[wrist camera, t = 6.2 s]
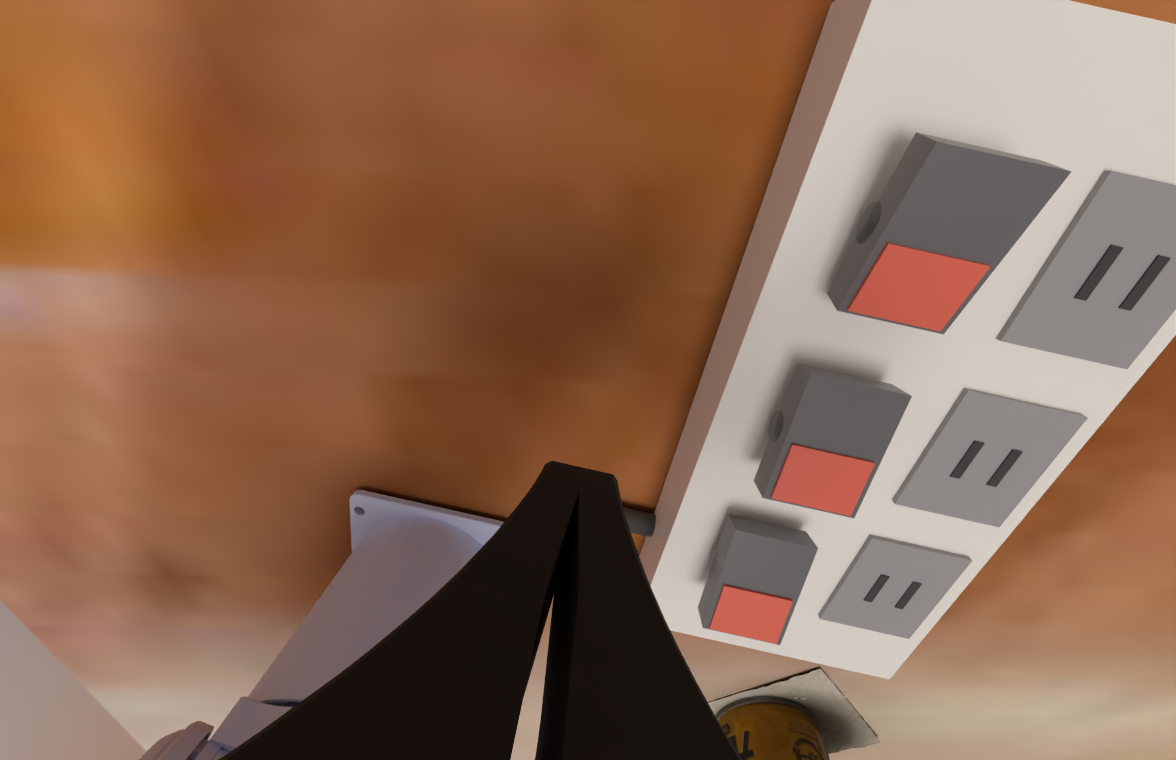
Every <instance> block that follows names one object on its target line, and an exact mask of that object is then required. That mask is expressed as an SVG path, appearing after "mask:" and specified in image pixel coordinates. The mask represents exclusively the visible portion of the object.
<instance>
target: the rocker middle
mask: <svg viewBox="0 0 1176 760" xmlns="http://www.w3.org/2000/svg"><path fill="white" fill-rule="evenodd" d="M911 397H912V396H911V395H910V394H908V393H906V392H904V391H903V390H901V389H899V388H898V387H896V386H894V385H892V384H889V383H884V382H880V381H875V380H871V379H867V378H862V377H858V376H853V375H849V374H844V373H840V372H835V371H831V370H826V369H822V368H817V367H813V366H808V365H804V364H799V363H798V364H797V367H796V369H795V372H794V375H793V377H792V380H791V382H790V385H789V388H788V390H787V393H786V396H785V398H784V401H783V404H782V406H781V409H780V410H777V411H775V412H774V414H773V415H772V417H771V420H770V423H769V429H768V435H769V441H768V444H767V446H766V449H765V452H764V454H763V457H762V460H761V462H760V465H759V468H758V470H757V473H756V476H755V478H754V482H755V484H756V486H757V488H758V490H759V492H760V494H761V496H762V498H765V499H769V500H774V501H778V502H783V503H787V504H792V505H796V506H801V507H805V508H810V509H814V510H819V511H823V512H828V513H832V514H836V515H841V516H845V517H850V518H855V516H856V514H857V512H858V510H859V507H860V505H861V503H862V501H863V499H864V497H865V495H866V493H867V490H868V488H869V486H870V484H871V482H872V480H873V478H874V476H875V474H876V471H877V469H878V467H879V465H880V463H881V461H882V459H883V457H884V455H885V452H886V450H887V448H888V446H889V444H890V442H891V440H892V438H893V435H894V433H895V431H896V429H897V427H898V425H899V423H900V421H901V419H902V416H903V414H904V412H905V410H906V408H907V406H908V404H909V402H910V399H911Z"/></svg>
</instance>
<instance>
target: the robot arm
mask: <svg viewBox="0 0 1176 760" xmlns="http://www.w3.org/2000/svg"><path fill="white" fill-rule="evenodd" d="M349 503H350V524H351V546H352V553H351V555H350V556H349V558H348V559H347V560H346V562H345V563H344V564H343V566H342V567H341V569H340V570H339V571H338V573H337V574H336V576H335V577H334V578H333V580H332V581H331V582H330V584H329V585H328V587H327V588H326V589H325V591H324V592H323V594H322V595H321V596H320V598H319V599H318V600H317V602H316V603H315V605H314V606H313V607H312V609H311V610H310V612H309V613H308V614H307V616H306V617H305V618H304V620H303V621H302V623H301V624H300V625H299V627H298V628H297V630H296V631H295V632H294V634H293V635H292V636H291V638H290V639H289V641H288V642H287V643H286V645H285V646H284V648H283V649H282V650H281V652H280V653H279V654H278V656H277V657H276V659H275V660H274V661H273V663H272V664H271V666H270V667H269V668H268V670H267V671H266V672H265V674H264V675H263V677H262V678H261V679H260V681H259V682H258V684H257V685H256V686H255V688H254V689H253V690H252V692H251V693H250V695H249V696H248V697H241V698H240V699H239V701H238V702H237V703H236V705H235V706H234V708H233V709H232V710H231V712H230V713H229V714H228V716H227V717H226V718H225V720H224V721H223V723H222V724H221V725H220V727H219V728H218V729H217V731H216V732H215V733H214V735H213V736H212V738H211V739H210V740H209V741H208V738H209V737H210V735H211V733H212V731H213V729H214V727H213V726H211V725H209V724H207V723H204V722H202V721H197V722H194V723H192V724H190V725H189V726H188V727H187V728H186V729H182V730H179V731H177V732H174V733H172V734H169V735H167V736H165V737H163V738H161V739H160V740H159V741H157V742H156V743H155V744H154V745H153V746H152V747H151V748H150V749H149V750H148V751H147V752H146V753H145V754H144V755H143V756H142V757H141V758H140V759H139V760H510V758H511V753H512V749H513V744H514V739H515V734H516V729H517V725H518V720H519V715H520V710H521V705H522V701H523V697H524V694H525V690H526V687H527V683H528V680H529V677H530V673H531V670H532V666H533V663H534V660H535V656H536V653H537V650H538V646H539V643H540V639H541V636H542V633H543V629H544V626H545V622H546V619H547V616H548V612H549V609H550V606H551V602H552V599H553V595H554V599H553V608H552V617H551V627H550V636H549V646H548V655H547V665H546V675H545V684H544V694H543V703H542V713H541V722H540V730H539V737H538V744H537V751H536V757H535V760H742V759H741V758H740V756H739V754H738V753H737V751H736V750H735V748H734V746H733V745H732V743H731V742H730V740H729V738H728V737H727V735H726V734H725V732H724V730H723V729H722V727H721V725H720V724H719V722H718V720H717V718H716V716H715V715H714V713H713V711H712V709H711V708H710V706H709V704H708V702H707V700H706V699H705V697H704V695H703V693H702V691H701V690H700V688H699V686H698V684H697V683H696V681H695V679H694V677H693V675H692V673H691V671H690V669H689V667H688V665H687V663H686V661H685V659H684V658H683V656H682V654H681V652H680V650H679V648H678V646H677V644H676V642H675V640H674V638H673V635H672V633H671V631H670V629H669V627H668V625H667V623H666V621H665V618H664V616H663V614H662V612H661V609H660V607H659V605H658V602H657V600H656V598H655V596H654V593H653V591H652V589H651V586H650V584H649V581H648V579H647V576H646V574H645V571H644V568H643V566H642V563H641V560H640V558H639V555H638V552H637V549H636V547H635V544H634V541H633V538H632V535H631V532H630V529H629V526H628V522H627V519H626V516H625V513H624V509H623V505H622V501H621V497H620V493H619V488H618V482H617V480H616V478H615V477H614V475H613V474H608V473H604V472H599V471H595V470H591V469H586V468H582V467H577V466H573V465H568V464H564V463H559V462H555V461H551V462H549V463H547V464H545V466H544V468H543V470H542V472H541V473H540V475H539V477H538V478H537V480H536V482H535V483H534V485H533V486H532V487H531V489H530V490H529V492H528V493H527V494H526V496H525V497H524V498H523V500H522V501H521V502H520V504H519V505H518V506H517V507H516V509H515V510H514V511H513V512H512V514H511V515H510V516H509V517H508V518H507V520H506V521H505V522H503V521H498V520H494V519H489V518H485V517H480V516H476V515H472V514H467V513H463V512H458V511H454V510H449V509H445V508H440V507H436V506H431V505H427V504H422V503H418V502H413V501H409V500H405V499H400V498H396V497H391V496H387V495H382V494H378V493H373V492H369V491H364V490H357V491H355V492H354V493H353V494H352V495H351V497H350V500H349ZM360 507H361V508H363V509H361V508H360Z"/></svg>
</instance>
